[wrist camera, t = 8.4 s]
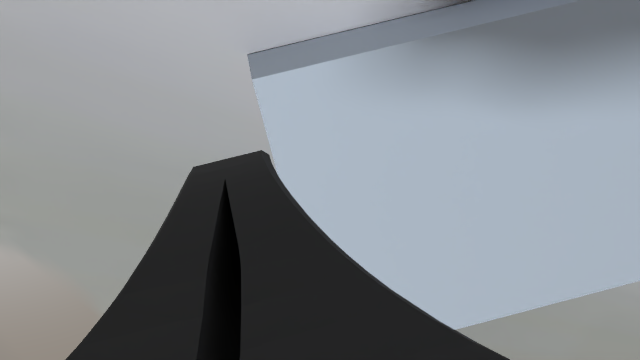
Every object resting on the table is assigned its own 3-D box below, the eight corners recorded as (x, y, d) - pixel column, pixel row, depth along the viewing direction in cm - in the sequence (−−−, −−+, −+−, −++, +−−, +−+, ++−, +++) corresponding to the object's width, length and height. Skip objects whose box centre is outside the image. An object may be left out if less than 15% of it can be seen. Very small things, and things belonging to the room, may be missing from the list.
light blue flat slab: (677, -49, 19) (722, -34, 17) (620, 249, 27) (647, 278, 25) (247, 54, 18) (252, 79, 17) (321, 328, 26) (328, 362, 25)
